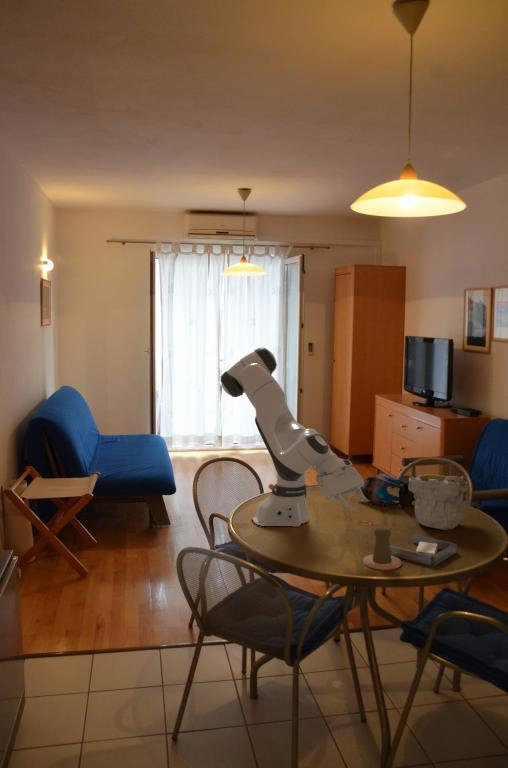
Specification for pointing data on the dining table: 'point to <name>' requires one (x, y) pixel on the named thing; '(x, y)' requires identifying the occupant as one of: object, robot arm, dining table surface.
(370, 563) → the pink round disc
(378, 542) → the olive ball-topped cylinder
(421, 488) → the ceramic vessel
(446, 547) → the grey u-shaped frame
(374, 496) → the lantern
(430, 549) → the offcut stack
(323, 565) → the dining table surface
